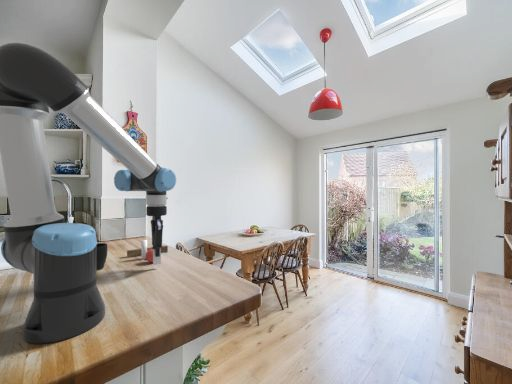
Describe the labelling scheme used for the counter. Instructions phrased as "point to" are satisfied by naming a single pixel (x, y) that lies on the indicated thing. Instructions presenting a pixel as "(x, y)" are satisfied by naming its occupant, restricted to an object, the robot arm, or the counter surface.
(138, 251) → the backstop
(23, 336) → the robot arm
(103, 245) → the mug
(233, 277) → the counter surface
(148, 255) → the ball
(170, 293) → the counter surface
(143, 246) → the pin left
